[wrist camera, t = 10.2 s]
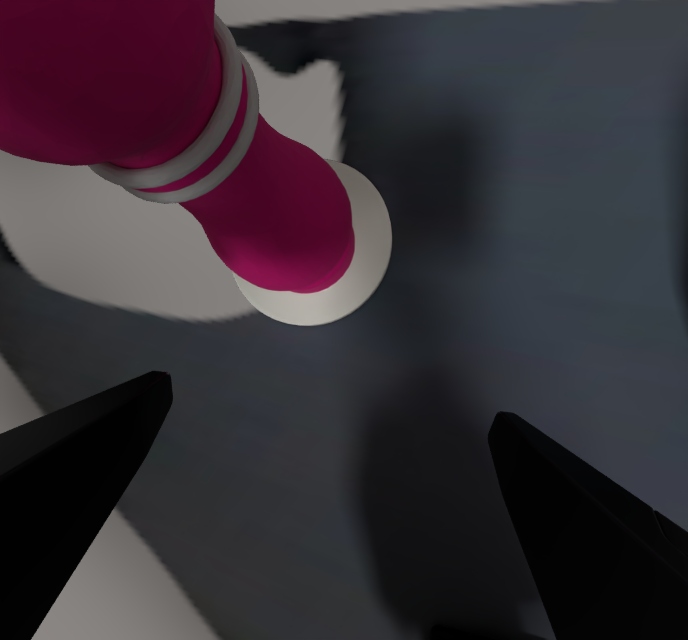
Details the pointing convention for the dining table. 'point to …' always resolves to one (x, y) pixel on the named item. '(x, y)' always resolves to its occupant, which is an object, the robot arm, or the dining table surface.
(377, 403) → the dining table surface
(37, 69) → the pepper mill
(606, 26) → the dining table surface
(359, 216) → the saucer
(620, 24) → the dining table surface
